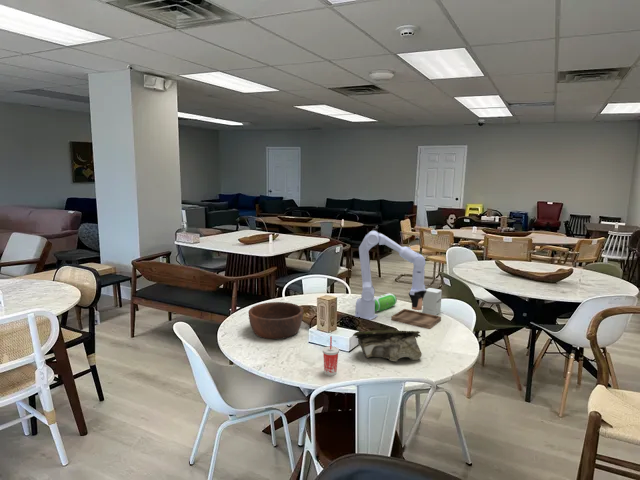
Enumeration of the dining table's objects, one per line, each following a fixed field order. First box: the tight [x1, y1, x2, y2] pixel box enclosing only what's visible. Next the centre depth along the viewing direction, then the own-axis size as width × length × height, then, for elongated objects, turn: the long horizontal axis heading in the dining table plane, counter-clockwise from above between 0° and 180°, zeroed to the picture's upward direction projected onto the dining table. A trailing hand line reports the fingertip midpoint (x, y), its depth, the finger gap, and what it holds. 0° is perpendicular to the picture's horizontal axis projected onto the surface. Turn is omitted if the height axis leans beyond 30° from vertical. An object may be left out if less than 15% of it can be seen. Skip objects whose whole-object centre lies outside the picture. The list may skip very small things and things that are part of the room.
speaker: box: [374, 292, 398, 313], centre depth 226 cm, size 18×7×8 cm, turn 134°
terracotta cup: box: [411, 297, 423, 311], centre depth 208 cm, size 5×5×6 cm
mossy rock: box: [352, 329, 422, 362], centre depth 165 cm, size 28×13×15 cm
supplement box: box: [422, 287, 443, 316], centre depth 220 cm, size 7×7×13 cm
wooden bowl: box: [248, 301, 304, 340], centre depth 193 cm, size 25×25×10 cm
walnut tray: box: [391, 308, 442, 330], centre depth 209 cm, size 20×15×2 cm
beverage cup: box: [322, 335, 340, 376], centre depth 153 cm, size 6×6×14 cm
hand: (416, 305), depth 208 cm, fingers closed on terracotta cup, 5 cm apart
